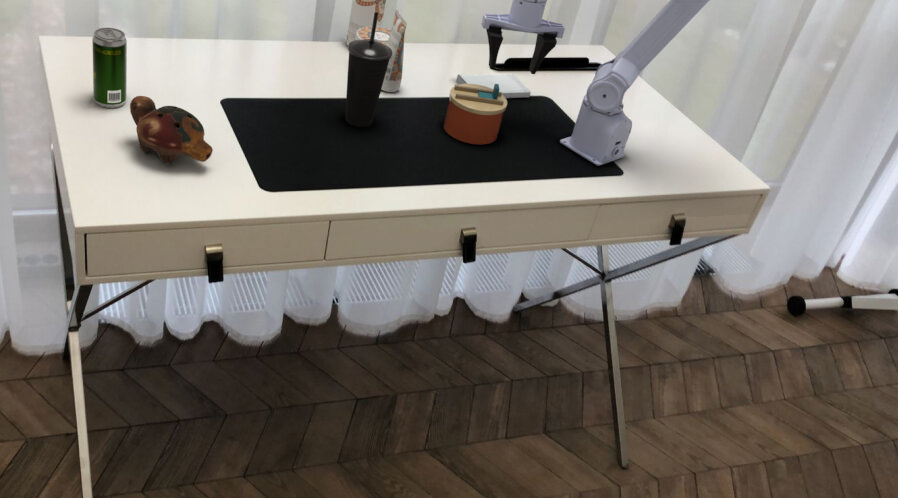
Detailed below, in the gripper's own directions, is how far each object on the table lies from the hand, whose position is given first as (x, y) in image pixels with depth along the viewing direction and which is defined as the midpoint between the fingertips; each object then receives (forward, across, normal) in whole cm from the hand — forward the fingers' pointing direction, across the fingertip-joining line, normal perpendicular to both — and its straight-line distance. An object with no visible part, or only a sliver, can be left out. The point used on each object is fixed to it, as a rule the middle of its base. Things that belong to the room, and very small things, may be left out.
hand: (511, 69), depth 177 cm
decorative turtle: (+10, +58, +25) cm, 64 cm away
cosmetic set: (+10, +22, -17) cm, 30 cm away
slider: (+3, +5, +6) cm, 8 cm away
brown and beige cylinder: (+10, +6, +6) cm, 13 cm away
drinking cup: (+10, +27, +6) cm, 30 cm away
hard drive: (+10, -1, -13) cm, 17 cm away
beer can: (+10, +70, +9) cm, 71 cm away
